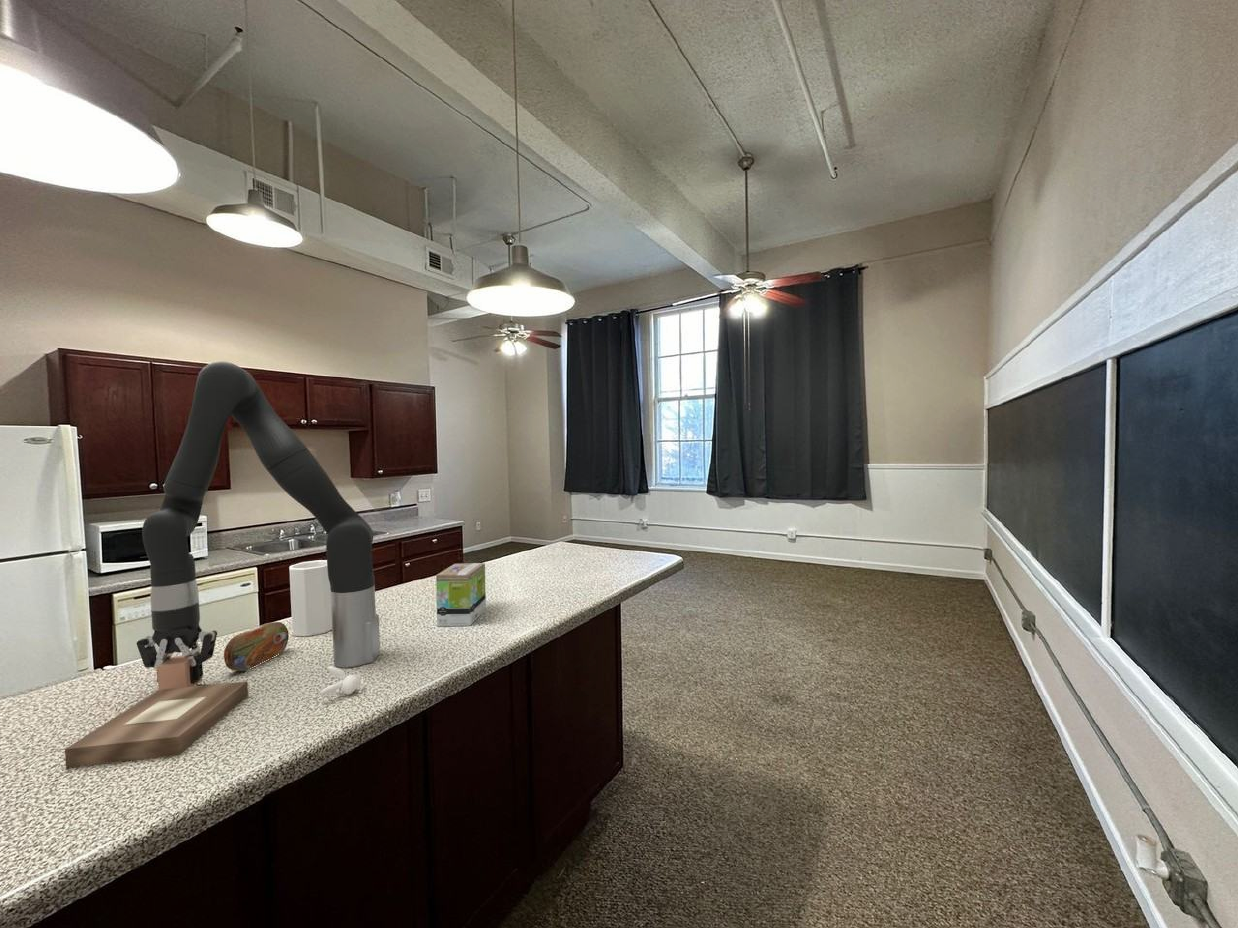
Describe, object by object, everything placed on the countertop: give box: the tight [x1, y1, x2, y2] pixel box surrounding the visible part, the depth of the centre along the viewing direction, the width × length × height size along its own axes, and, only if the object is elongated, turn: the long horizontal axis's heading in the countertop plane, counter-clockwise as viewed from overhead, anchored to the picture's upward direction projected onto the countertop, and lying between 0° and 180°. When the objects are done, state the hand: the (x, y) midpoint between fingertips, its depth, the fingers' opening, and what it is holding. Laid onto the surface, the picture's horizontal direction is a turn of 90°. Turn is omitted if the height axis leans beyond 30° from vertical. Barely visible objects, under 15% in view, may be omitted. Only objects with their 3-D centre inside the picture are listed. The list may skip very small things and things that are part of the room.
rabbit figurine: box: [319, 665, 365, 698], centre depth 101 cm, size 6×4×8 cm
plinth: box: [64, 680, 249, 768], centre depth 91 cm, size 16×20×3 cm
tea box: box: [435, 562, 487, 627], centre depth 146 cm, size 15×10×15 cm, turn 179°
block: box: [156, 654, 203, 690], centre depth 105 cm, size 5×5×6 cm
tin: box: [223, 621, 290, 672], centre depth 118 cm, size 15×3×8 cm, turn 168°
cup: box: [288, 559, 332, 637], centre depth 140 cm, size 11×11×18 cm
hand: (180, 682), depth 105 cm, fingers closed on block, 5 cm apart
